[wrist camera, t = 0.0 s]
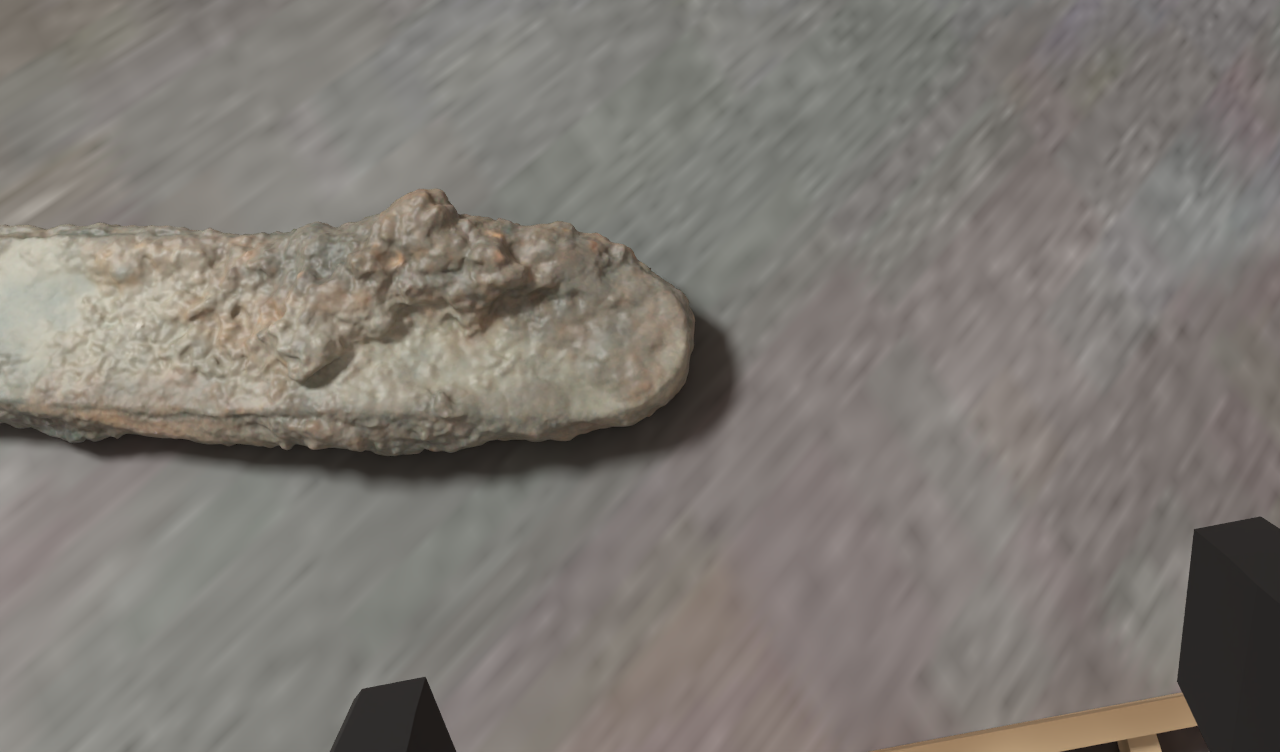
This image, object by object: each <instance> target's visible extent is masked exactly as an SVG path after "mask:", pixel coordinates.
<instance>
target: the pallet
mask: <svg viewBox="0 0 1280 752" xmlns="http://www.w3.org/2000/svg"><path fill="white" fill-rule="evenodd" d="M1194 726H1198V725H1197V723H1196V721H1195V719H1194V717H1193V714H1192V712H1191V710H1190V708H1189V706H1188V704H1187V702H1186V699H1185V697H1184V695H1183V693H1176V694H1171V695H1166V696H1161V697H1155V698H1150V699H1145V700H1139V701H1134V702H1129V703H1123V704H1118V705H1113V706H1108V707H1102V708H1097V709H1092V710H1086V711H1081V712H1076V713H1071V714H1065V715H1060V716H1055V717H1049V718H1044V719H1039V720H1034V721H1028V722H1023V723H1018V724H1012V725H1007V726H1002V727H997V728H991V729H986V730H981V731H975V732H970V733H965V734H959V735H954V736H949V737H944V738H938V739H933V740H928V741H922V742H917V743H912V744H907V745H901V746H896V747H891V748H885V749H880V750H875V751H870V752H1061V751H1066V750H1072V749H1077V748H1082V747H1087V746H1093V745H1098V744H1103V743H1109V742H1114V741H1117V743H1118V747H1119V750H1120V752H1162V751H1161V748H1160V744H1159V741H1158V738H1157V733H1162V732H1167V731H1173V730H1178V729H1183V728H1188V727H1194Z"/></svg>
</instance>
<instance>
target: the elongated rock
mask: <svg viewBox="0 0 1280 752" xmlns="http://www.w3.org/2000/svg"><path fill="white" fill-rule="evenodd" d="M694 330H695V318H694V314H693V312H692V310H691V308H690V306H689V301H688V299H687V297H686V296H685V295H684V293H683V292H682V291H680V290H678V289H675V287H674V286H673V285H672V284H670V283H668V282H666V281H665V280H664V279H662V278H660V277H659V276H658V275H656V274H655V273H654V272H652V271H651V268H649V267H648V266H646V265H645V264H643V263H642V262H640V261H639V260H638V259H637V258H636V256H635V254H634V252H633V251H632V249H631V248H629V247H627V246H625V245H623V244H619V243H613V242H610V241H609V239H608V238H606V237H603V236H602V235H600V234H598V233H591V234H590V233H582V232H578V231H577V230H576V229H575V228H574V226H573V225H572V224H570V223H566V222H563V221H556V222H553V223H549V224H537V225H533V226H521V225H520V224H518V223H515V224H514V223H512V222H511V221H508V220H505V219H501V218H498V219H497V220H493V219H491V218H489V217H481V216H470V215H467V214H461V215H459V214H458V213H457V210H456V209H455V208H454V206H453V205H452V204H451V203H450V202H449V201H448V197H447V196H446V194H445V193H444V192H443V191H442V190H440V189H430V190H427V189H418V190H416V191H414V192H410V193H408V194H406V195H405V196H403V197H401V198H399V199H398V200H396V201H395V202H393V203H392V204H391V206H390V207H389V208H387V209H386V210H385V211H383V212H382V213H381V214H376V215H372V216H369V217H365V218H364V219H362V220H361V221H358V222H356V223H355V222H348V223H345V224H343V225H341V226H340V227H336V228H335V227H332V226H330V225H329V224H325V223H321V222H314V223H310V224H307V225H306V226H303V227H300V228H298V229H293V230H292V231H291V232H286V233H282V232H279V231H276V232H274V233H271V234H267V233H264V232H262V233H256V234H244V235H238V234H231V233H229V234H228V233H222V232H220V231H216V230H214V229H212V228H208V229H206V230H204V231H200V230H198V231H197V230H189V229H187V228H185V227H179V228H176V227H172V226H152V225H150V226H140V227H139V226H135V225H129V226H120V225H108V224H105V223H100V222H99V223H96V224H94V225H89V226H75V225H71V224H67V225H59V226H57V227H55V228H51V229H48V230H46V229H43V228H39V227H36V226H32V225H16V226H8V225H0V423H7V424H9V425H11V426H13V427H15V428H29V427H32V428H34V429H37V430H39V431H40V432H43V433H45V434H47V435H49V436H51V437H58V438H61V439H62V440H64V441H68V442H70V443H78V442H84V441H85V440H86V439H88V440H91V441H94V442H96V441H100V440H102V439H105V438H108V437H110V436H111V437H115V438H116V439H119V438H120V437H121V436H122V435H124V434H137V435H142V436H147V437H157V438H164V439H165V438H173V439H187V440H191V441H193V442H196V443H203V444H209V445H210V444H223V445H225V446H232V445H235V444H243V445H254V446H265V447H268V448H273V447H275V446H279V445H280V446H281V448H282V449H285V450H290V449H291V448H292V447H293V446H294V445H295V444H299V445H302V446H307V447H309V448H310V449H312V450H319V449H326V448H341V449H349V450H351V451H358V452H363V451H365V450H368V451H372V452H374V453H375V454H379V455H383V456H398V455H404V454H406V455H410V454H419V453H421V452H422V451H423V450H424V449H427V450H430V451H433V452H439V451H446V452H448V453H454V452H456V451H458V450H462V449H466V448H469V447H475V446H481V445H483V444H484V443H486V442H488V441H491V440H496V439H498V440H501V441H508V440H525V439H526V440H528V441H530V442H542V441H545V440H549V439H551V440H556V441H570V440H572V439H573V438H574V437H576V436H577V435H580V434H586V433H589V432H591V431H593V430H598V429H603V428H609V427H614V426H615V427H626V426H632V425H634V424H636V423H637V422H639V421H640V420H642V419H644V418H645V417H650V416H652V415H653V413H654V412H655V411H656V410H657V409H659V408H660V407H663V406H665V405H666V404H667V403H668V402H669V401H670V400H671V399H673V398H674V396H675V395H676V394H677V393H678V392H679V391H680V390H681V388H682V386H683V385H684V384H685V383H686V379H687V375H688V373H689V361H690V356H691V353H692V351H693V349H694Z"/></svg>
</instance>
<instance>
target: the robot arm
mask: <svg viewBox="0 0 1280 752" xmlns="http://www.w3.org/2000/svg"><path fill="white" fill-rule="evenodd" d="M1177 682H1178V684H1179V686H1180V689H1181V691H1182V693H1183V695H1184V697H1185V699H1186V702H1187V704H1188V706H1189V708H1190V710H1191V712H1192V714H1193V717H1194V719H1195V721H1196V723H1197V725H1198V727H1199V730H1200V732H1201V734H1202V736H1203V738H1204V740H1205V742H1206V744H1207V746H1208V748H1209V750H1210V752H1280V529H1279V528H1278V527H1276V526H1275V525H1273V524H1271V523H1270V522H1268V521H1267V520H1265V519H1264V518H1262V517H1256V518H1251V519H1245V520H1240V521H1235V522H1230V523H1224V524H1219V525H1214V526H1209V527H1204V528H1198V529H1194V535H1193V544H1192V553H1191V562H1190V571H1189V580H1188V589H1187V598H1186V607H1185V616H1184V625H1183V634H1182V643H1181V652H1180V661H1179V669H1178V678H1177ZM330 752H456V750H455V747H454V745H453V743H452V740H451V738H450V735H449V733H448V730H447V728H446V726H445V723H444V721H443V718H442V716H441V713H440V711H439V708H438V706H437V704H436V701H435V699H434V696H433V694H432V691H431V689H430V686H429V684H428V682H427V679H426V677H422V678H417V679H412V680H406V681H401V682H396V683H391V684H386V685H380V686H375V687H370V688H365V689H362V690H361V691H360V692H359V694H358V695H357V696H356V698H355V699H354V701H353V703H352V705H351V707H350V709H349V712H348V714H347V716H346V718H345V720H344V722H343V725H342V727H341V729H340V731H339V733H338V735H337V737H336V740H335V742H334V744H333V746H332V748H331V750H330Z"/></svg>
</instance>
